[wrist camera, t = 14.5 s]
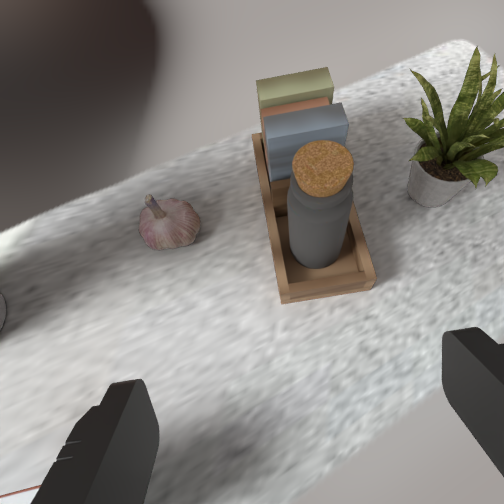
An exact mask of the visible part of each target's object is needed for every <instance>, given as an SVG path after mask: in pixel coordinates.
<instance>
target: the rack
mask: <svg viewBox="0 0 504 504" xmlns="http://www.w3.org/2000/svg"><path fill="white" fill-rule="evenodd" d="M256 84H257V92H258V101H259V109H260V119H261V128H262V133H257V134H252V140H253V147H254V153H255V159H256V165H257V170H258V176H259V181H260V187H261V193H262V198H263V204H264V210H265V215H266V221H267V226H268V232H269V238H270V243H271V249H272V255H273V260H274V266H275V271H276V277H277V283H278V288H279V294H280V300H281V304H287V303H293V302H299V301H305V300H312V299H318V298H324V297H330V296H336V295H342V294H348V293H354V292H361V291H367V290H370V289H371V288H372V286H373V284H374V283H375V281H376V279H377V277H376V274H375V270H374V267H373V264H372V261H371V257H370V254H369V251H368V248H367V244H366V241H365V238H364V235H363V232H362V228H361V225H360V222H359V219H358V215H357V212H356V209H355V206H354V202H353V201H352V207H351V211H350V215H349V220H348V224H347V228H346V232H345V236H344V240H343V244H342V248H341V251H340V254H339V256H338V258H337V259H336V261H335V262H334V263H332V264H331V265H329V266H328V267H325V268H321V269H311V268H307V267H304V266H302V265H301V264H299V263H298V262H297V261H296V260H295V259H294V257H293V255H292V253H291V249H290V240H289V225H288V208H287V194H288V190H289V187H290V177H291V172H292V170H293V169H292V162H293V158H294V156H295V154H296V152H297V151H298V150H299V149H300V148H301V147H303V146H304V145H306V144H308V143H310V142H313V141H318V140H329V141H333V142H337V143H339V144H341V145H342V146H344V147H345V142H346V136H347V131H348V126H349V123H348V120H347V117H346V114H345V111H344V108H343V106H342V103H336V104H332V100H333V92H334V86H333V82H332V79H331V77H330V73H329V70H328V67H325V68H320V69H315V70H309V71H304V72H298V73H294V74H288V75H283V76H277V77H272V78H267V79H262V80H257V81H256Z"/></svg>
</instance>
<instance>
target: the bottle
mask: <svg viewBox="0 0 504 504" xmlns="http://www.w3.org/2000/svg"><path fill="white" fill-rule="evenodd" d="M353 166H354V162H353V158H352V155H351V154H350V152H349V151H348V150H347V149H346V148H345V147H344V146H342V145H341V144H339V143H337V142H333V141H329V140H318V141H313V142H310V143H308V144H306V145H304V146H303V147H301V148H300V149H299V150H298V151H297V152H296V154H295V156H294V158H293V162H292V169H293V170H292V172H291V177H290V187H289V190H288V194H287V208H288V225H289V240H290V249H291V253H292V255H293V257H294V259H295V260H296V261H297V262H298V263H299V264H301V265H302V266H304V267H307V268H311V269H321V268H325V267H328V266H329V265H331V264H332V263H334V262H335V261H336V259H337V258H338V256H339V254H340V251H341V248H342V244H343V240H344V236H345V232H346V228H347V224H348V220H349V215H350V211H351V207H352V201H353V192H352V189H351V188H352V183H353V175H352V171H353Z"/></svg>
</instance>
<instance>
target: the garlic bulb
mask: <svg viewBox="0 0 504 504" xmlns="http://www.w3.org/2000/svg"><path fill="white" fill-rule="evenodd" d="M145 204H146V205H147V206H148V207H146V208H145V209H143V211H142V212H141V214H140V223H139V232H140V234H141V236H142V237H143V238H144V240H145V243H146V244H147V245H148V246H149V247H150V248H152V249H155V250H163V249H166V248H170V249H171V248H172V249H173V248H177V247H180V246H187V245H190V244H191V243H192V242H193V241H194V240H195V237H196V234H197V233H198V232H199V230H200V218H199V216H198V214H197V213H196V212H195V211H194V210H193V208H192V206H191V205H190V204H189V203H188V202H186V201H179V200H177V199H168V200H157V201H155V200H154V198H153V197H152V195H147V196H146V198H145Z"/></svg>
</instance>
